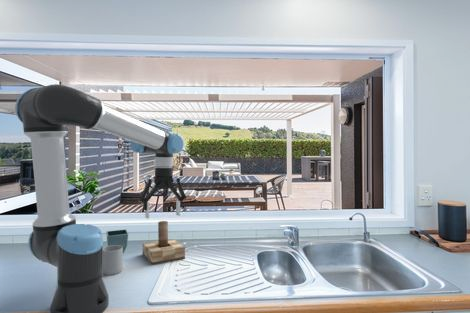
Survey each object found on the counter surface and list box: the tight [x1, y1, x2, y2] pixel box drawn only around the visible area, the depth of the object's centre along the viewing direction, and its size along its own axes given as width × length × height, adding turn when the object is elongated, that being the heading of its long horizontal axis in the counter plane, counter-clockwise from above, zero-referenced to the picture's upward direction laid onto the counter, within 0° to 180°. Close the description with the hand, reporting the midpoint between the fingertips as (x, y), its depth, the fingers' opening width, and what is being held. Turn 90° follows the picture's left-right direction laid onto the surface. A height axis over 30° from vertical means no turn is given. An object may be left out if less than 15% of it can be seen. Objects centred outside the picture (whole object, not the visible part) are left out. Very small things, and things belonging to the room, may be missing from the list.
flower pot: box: [105, 229, 129, 253], centre depth 139 cm, size 9×9×9 cm
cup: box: [102, 245, 124, 276], centre depth 118 cm, size 7×10×9 cm
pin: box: [157, 220, 169, 248], centre depth 133 cm, size 4×4×14 cm
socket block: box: [142, 238, 186, 266], centre depth 134 cm, size 14×14×5 cm
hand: (162, 216), depth 133 cm, fingers open, 13 cm apart
